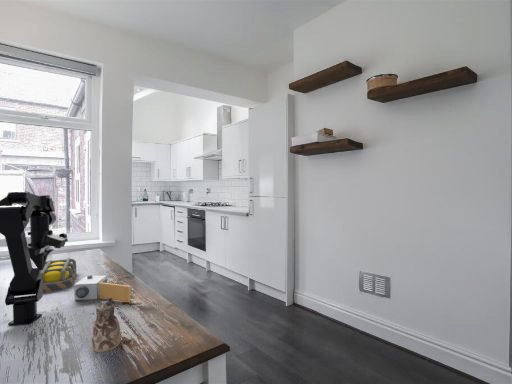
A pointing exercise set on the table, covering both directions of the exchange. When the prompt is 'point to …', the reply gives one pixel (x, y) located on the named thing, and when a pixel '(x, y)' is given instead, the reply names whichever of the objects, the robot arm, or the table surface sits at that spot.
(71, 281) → the cage light
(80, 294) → the block
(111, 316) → the figurine
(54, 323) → the table surface
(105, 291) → the side door
